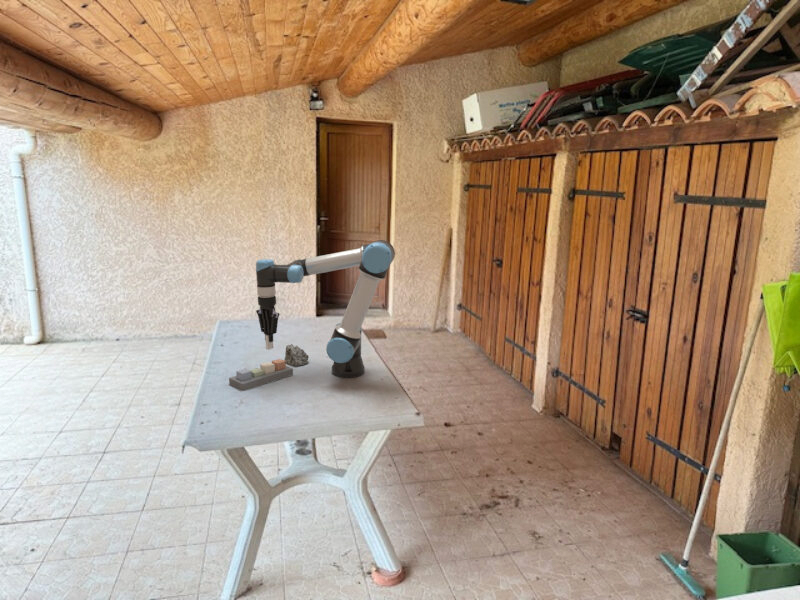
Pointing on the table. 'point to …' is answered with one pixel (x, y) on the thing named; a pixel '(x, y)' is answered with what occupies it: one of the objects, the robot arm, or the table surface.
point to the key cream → (267, 367)
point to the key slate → (243, 375)
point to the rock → (295, 356)
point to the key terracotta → (279, 364)
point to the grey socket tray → (260, 379)
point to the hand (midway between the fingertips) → (269, 348)
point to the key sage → (256, 372)
